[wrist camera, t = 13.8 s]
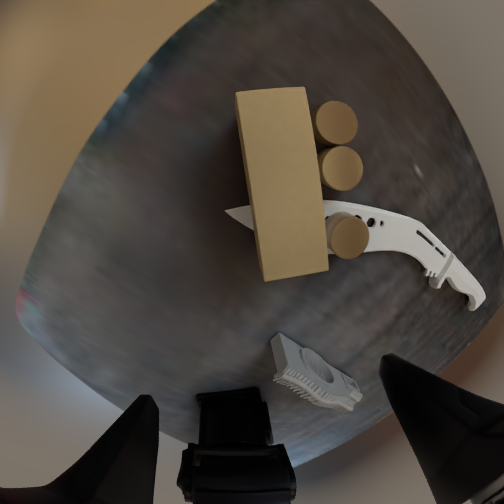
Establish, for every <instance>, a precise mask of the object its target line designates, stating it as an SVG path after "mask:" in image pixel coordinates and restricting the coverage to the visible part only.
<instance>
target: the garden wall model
mask: <svg viewBox="0 0 504 504" xmlns="http://www.w3.org/2000/svg"><path fill="white" fill-rule="evenodd" d="M270 342H271V347H272V351H273V356H274V360H275V364H276V369H277V373H276V374H275V375H274V378H275V379H273V381H276V380H278V381H276V382H277V383H279V382H280V384H282V383H283V385H286V384H287V385H286V387H288V386H292V387H290V389H293V388H295V389H294V390H293V391H294V392H295V391H297V390H298V391H299V392H297V394H300V393H302V395H300V397H303V396H305V397H303V398H304V399H306V398H308V400H307V401H308V402H309V401H311V404H314V403H315V405H318V406H322V407H323V408H324V407H330V408H334V409H336V408H337V409H336V410H339V412H340V411H342V412H341V413H344V412H347V411H352V410H353V406H354V405H355V404H356V403H357V402H360V400H361V398H362V397H363V395H362V394H361V393H360V390H359V388H358V386H357V384H356V382H355V380H353V379H351V378H350V377H348V376H346V375H345V374H343V373H342V372H340V371H338V370H337V369H335V368H334V367H332V366H330V365H329V364H327V363H326V362H325V361H324V360H323V359H322V358H321V357H320V356H319V355H318V354H317V353H315V352H314V351H312V350H311V349H309V348H302V347H301V346H299V345H298V344H296V343H295V342H293V341H292V340H290V339H289V338H287V337H286V336H284V335H283V334H281V333H280V332H279V333H278V334H277V335H275V336H274V337H273V338H272V339H271V340H270ZM281 381H282V382H281ZM340 409H341V410H340Z"/></svg>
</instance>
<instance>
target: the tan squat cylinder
mask: <svg viewBox="0 0 504 504" xmlns="http://www.w3.org/2000/svg"><path fill="white" fill-rule="evenodd" d="M325 227H326V239H327V247H328V248H329V249H330V250H331V251H332V252H333V253H334V254H336V255H337V256H338V257H340V258H342V259H353V258H356V257H358V256H359V255H360V254H362V253H363V252H364V250H365V249H366V247H367V245H368V242H369V230H368V227H367V225H366V224H365V222H364V221H362V220H361V219H359V218H357V217H355V216H353V215H351V214H349V213H347V212H336V213H334V214H332V215H331V216H329V217H328V218H327V220H326V221H325Z"/></svg>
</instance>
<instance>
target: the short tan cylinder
mask: <svg viewBox="0 0 504 504" xmlns="http://www.w3.org/2000/svg"><path fill="white" fill-rule="evenodd" d="M317 160H318V167H319V174H320V182H321V184H322V185H324V186H326V187H329V188H332V189H335V190H339V191H347V190H350V189H352V188H354V187H355V186H356V185H357V184H358V183H359V182H360V180H361V177H362V174H363V165H362V161H361V159H360V157H359V156H358V154H357V153H356V152H355V151H354V150H352V149H351V148H348V147H344V146H338V147H328V148H325V149H323V150H321V151H320V152H319V153H318V154H317Z"/></svg>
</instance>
